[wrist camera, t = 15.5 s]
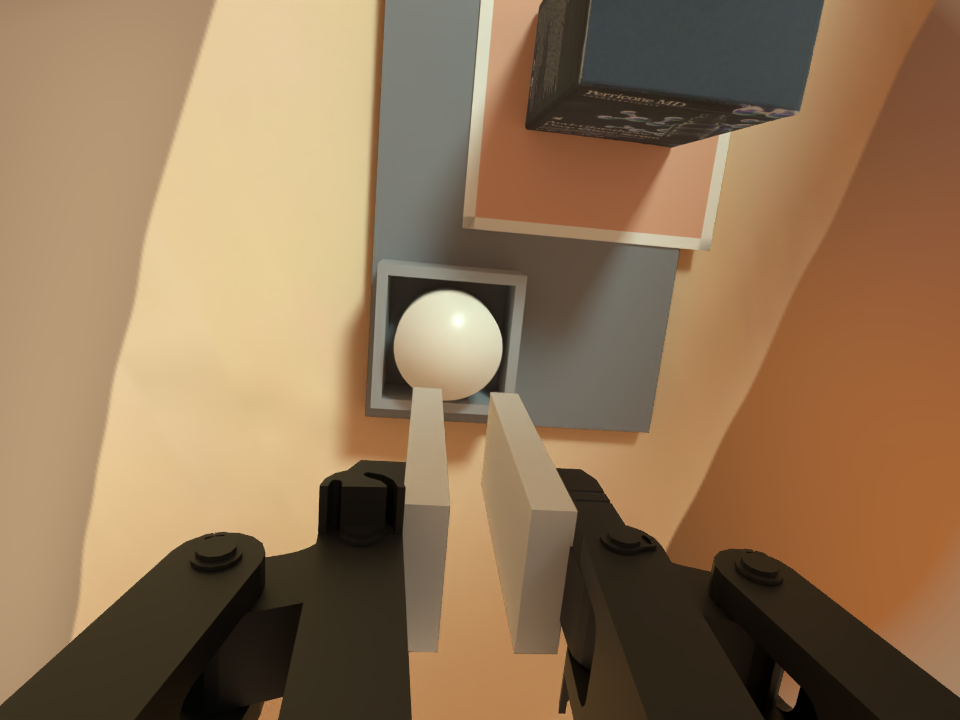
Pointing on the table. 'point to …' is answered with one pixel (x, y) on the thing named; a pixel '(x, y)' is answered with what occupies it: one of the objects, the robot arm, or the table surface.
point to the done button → (448, 343)
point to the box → (668, 67)
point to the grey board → (524, 223)
